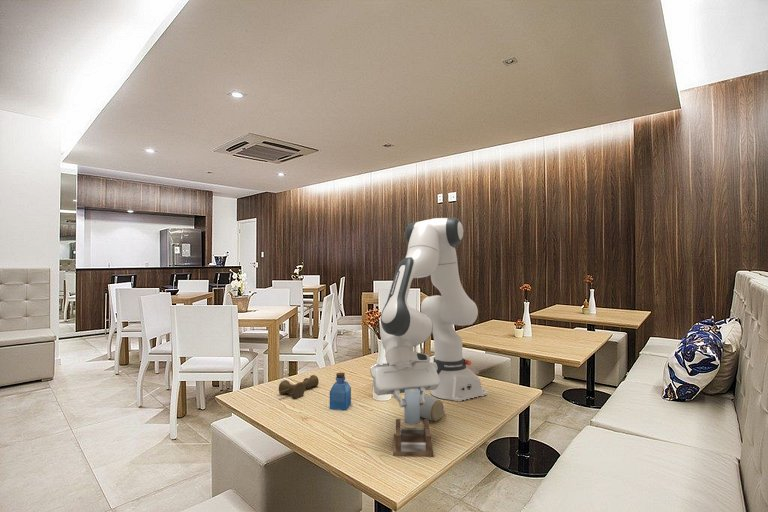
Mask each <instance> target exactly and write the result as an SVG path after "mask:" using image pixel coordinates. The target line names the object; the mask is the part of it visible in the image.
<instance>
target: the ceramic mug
mask: <svg viewBox="0 0 768 512" xmlns="http://www.w3.org/2000/svg"><path fill="white" fill-rule="evenodd" d="M420 397H421V394H420ZM424 400H425V404H424V405H420V418H423V419H428V420H429V421H432V422H437V421H439V420H441V419H442V417H443V416H444V415H445V414H446V413H445V412H446V410H445V407H444V403H443V401H441V399H440V398H439V399H438V397H435V396H433V395H430V394H428V393H425V395H424Z"/></svg>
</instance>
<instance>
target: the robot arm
mask: <svg viewBox="0 0 768 512" xmlns="http://www.w3.org/2000/svg"><path fill="white" fill-rule="evenodd" d="M404 231H405V232H404V233H405V234H404V237H405V241H406V244H407V252H406V255H405V257H404V258H402V259H401V260H400V261H399V263H398V264H397V268H396V270H395V273H394V276H393V280H392V283H391V286H390V290H389V293H388V298H387V300H386V303H385V304H384V307H383V308H382V311H381V314H380V324H379V334H380V335H379V336H380V340H381V345H382V347H383V349H384V352H385V354H384V356H385V357H384V358H385V361H386V363H376V364H373V365H372V366H371V367H370V368H369V370H370V376H371V377H372V382H373V391H374V393H375V395H377V396H384V395H393V398H394V399H395V400H396V401H397V402H398V404H399V408H404V407H406V402H405V401H406V400H405V398H403V397H402V396H401V395H400V394H405V389H406V388H418V389H419V390H420V394H421V397H420V405H424V404H425V400H424V395H425V394H426V392H427V391H430V394H431V396H432V397H434V398H437V399H438V398H439V399H442V400H449V401H455V402H463V401H462V400H464V401H467V400H466V399H468V400H471V399H470V398H473V399H475V398H474V397H477V398H479V397H478V396H482V397H484V396H483V395H486V396H488V391H487V389H485V388H484V387H483V386H482V382H481V380H480V378H479V376H478V375H477V374H476V373H474V372H473V371H472V370H470V369H469V368H468V367H467V366H471V365H472V361H471V360H469V359H465V358H463V340H462V339H463V338H462V337H461V336H460V335H459V334H458V333H457V332H456V330H455V329H454V326H458V327H459V326H463V327H464V326H470V325H473V324H474V323H475V322H476V320H477V318H478V315H479V309H478V307H477V304H476V302H475V301H474V300H473V299H471V298H470V297H469V296H468V294H467V293H466V291H465V289H464V288H463V285H462V283H461V279H460V274H459V264H458V257H457V250H456V247H457V246H458V245H460V244H461V242H462V241H463V237H464V227H463V224H462V221H461V220H460V219H459V218H457V217H453V216H452V217H451V216H448V217H436V218H434V217H433V218H430V219H424V220H420V221H413V222H411V223H409V224H408V225H407V226H406V228H405V230H404ZM429 276H430V281H431V284H432V286H434V287H435V288H436V289H437V290H438V291H439V293H440V295H437V294H436V295H430V296H427V297H425V298H424V299H423V300H422V302H421V304H420V311H419V310H417V309H415V308H412V307H411V306H410V305H409V303H408V296H409V293H410V288H411V285H412V281H413V280H414V279H421V278H426V277H427V278H428V277H429ZM431 335H432V337H433V343H434V346H433V347H434V348H433V349H434V357H433V363H431V357H430V355H429V354H426V353H422V352H418V351H414V350H413V347H417V346H419V345H421V344H423V343H425V342H426V341H428V339H430V338H431Z"/></svg>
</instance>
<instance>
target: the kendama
mask: <svg viewBox="0 0 768 512" xmlns="http://www.w3.org/2000/svg"><path fill="white" fill-rule="evenodd" d="M319 381H320V380H319V378H318V376H317V375H315V374H312V375H310V377H305V378H304V379H303V380H302V381H301V382H297V383H295V384H293V383H290V381H289V380H287V379H285V380H282V381H281V382H280V383H279V385H278V393H279V395H282V394H283V395H287V394H292V395H293V397H294V398H295V399H300V398H302V397H303V396H304V394H305V393H306V392H305V389H311V388H316V387H318V386H319Z"/></svg>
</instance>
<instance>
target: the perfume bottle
mask: <svg viewBox="0 0 768 512" xmlns="http://www.w3.org/2000/svg"><path fill="white" fill-rule="evenodd" d="M335 375H336V376H335V382H334V383H333V385H332V386H331V389H330V390H329V410H335V411H347V410H348V409H349V408H350V406H351V405H352V387H351V385H350V383H349V382H348V381H346V376H345V375H346V373H345V372H336V373H335Z"/></svg>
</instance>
